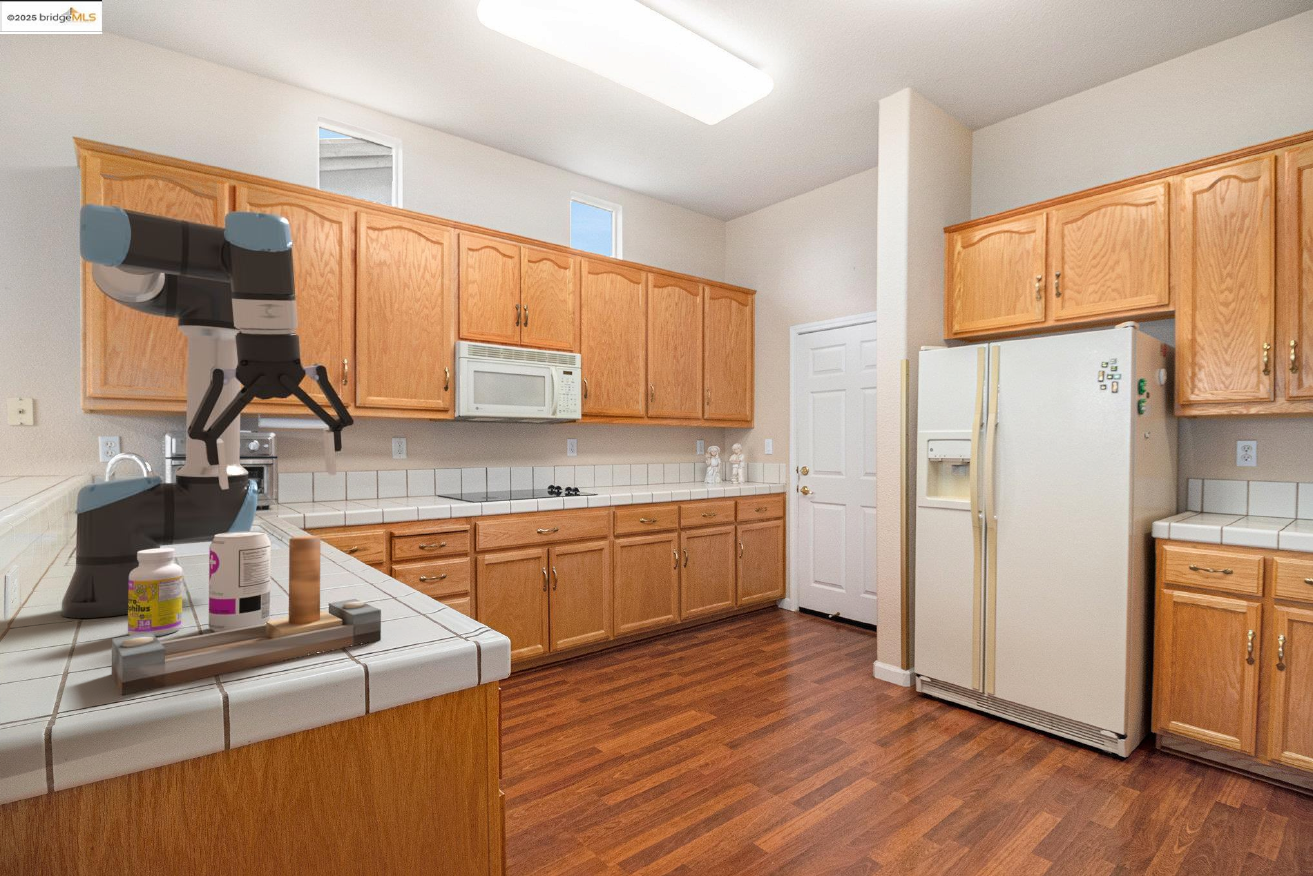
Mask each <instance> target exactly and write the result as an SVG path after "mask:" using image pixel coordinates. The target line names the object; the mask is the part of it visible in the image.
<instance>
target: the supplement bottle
mask: <svg viewBox="0 0 1313 876" xmlns="http://www.w3.org/2000/svg"><path fill="white" fill-rule="evenodd" d="M175 557H176V549H175V548H173V547H162V548H161V547H160V548H157V549H148V550H142V551H138V552H137V560H138V562H139V566H138V567H137V568H135V569H133V570H132V571H131V572H130V574H129V596H128V614H127V634H128V636H131V635H137V634H143V633H150V632H152V633H153V635H154V636H155V637H156V638H157V637H161V636H165V635H166V636H167V635H169V634H173V633H175V632H178V631H179V630H180V629H181V627H182V623H183V622H182V621H183V620H182V619H183V617H182V616H183V568H182V567H181V566H180V565H179V564H176V563H174V560H175Z"/></svg>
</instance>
